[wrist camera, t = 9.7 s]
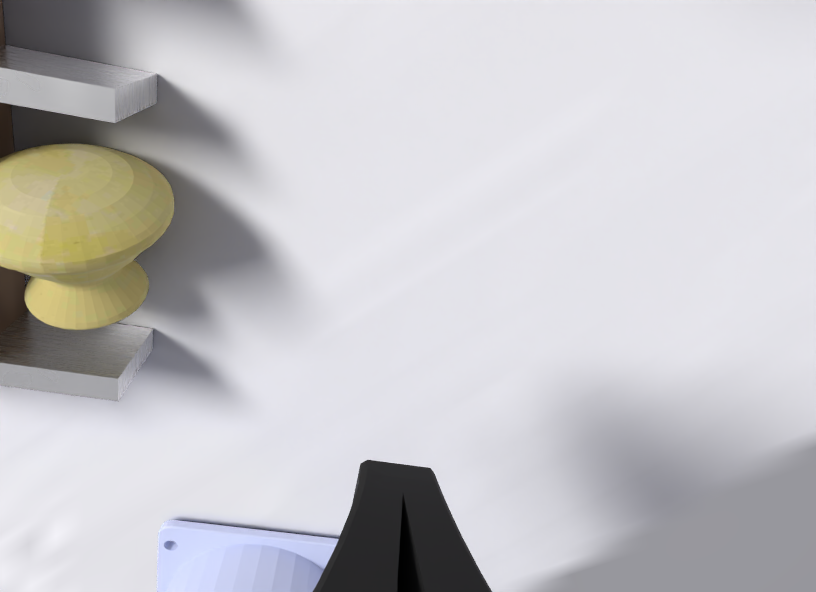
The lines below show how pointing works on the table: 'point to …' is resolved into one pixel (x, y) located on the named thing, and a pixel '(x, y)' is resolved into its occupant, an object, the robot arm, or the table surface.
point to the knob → (81, 230)
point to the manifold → (5, 289)
